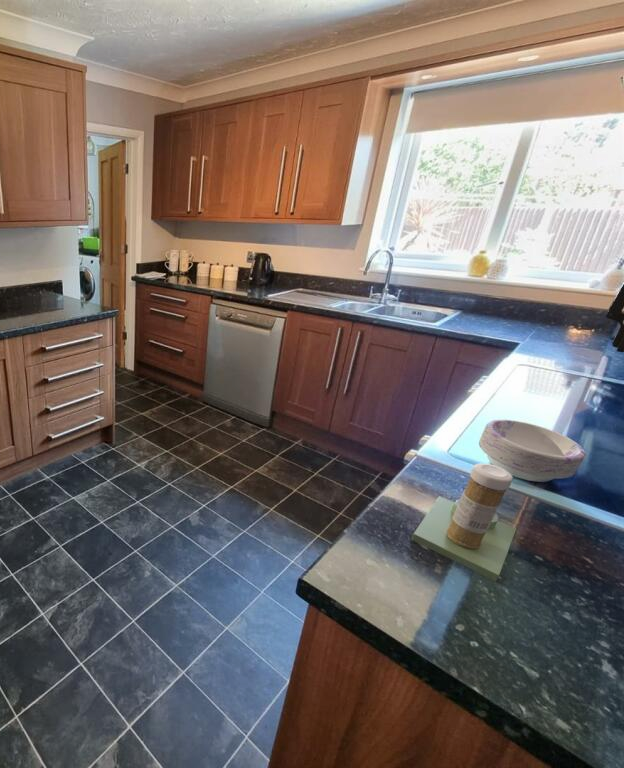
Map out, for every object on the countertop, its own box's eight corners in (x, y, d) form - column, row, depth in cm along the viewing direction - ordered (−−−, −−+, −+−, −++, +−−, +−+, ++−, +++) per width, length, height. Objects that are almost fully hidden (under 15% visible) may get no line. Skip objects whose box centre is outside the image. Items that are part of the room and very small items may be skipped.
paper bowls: (579, 501, 80) (600, 466, 77) (478, 475, 87) (493, 442, 84) (556, 462, 92) (572, 431, 89) (468, 442, 99) (481, 412, 96)
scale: (437, 500, 79) (442, 487, 78) (514, 533, 72) (521, 519, 71) (410, 540, 70) (416, 526, 69) (495, 582, 62) (503, 567, 61)
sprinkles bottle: (478, 537, 69) (512, 468, 63) (480, 554, 65) (516, 483, 60) (444, 525, 71) (473, 458, 66) (444, 541, 68) (475, 472, 62)
